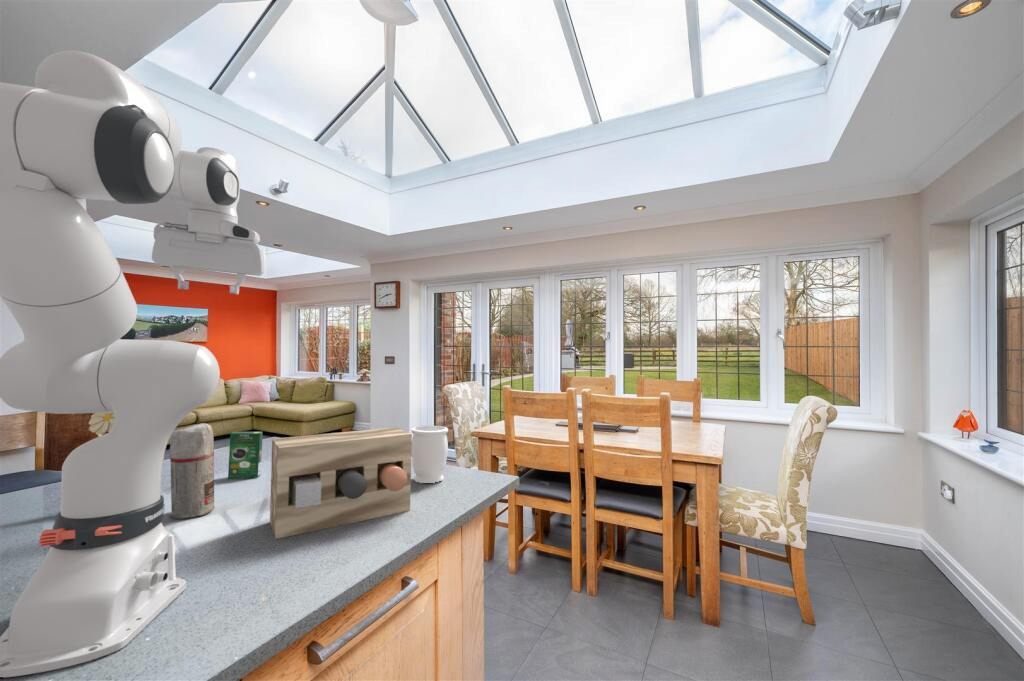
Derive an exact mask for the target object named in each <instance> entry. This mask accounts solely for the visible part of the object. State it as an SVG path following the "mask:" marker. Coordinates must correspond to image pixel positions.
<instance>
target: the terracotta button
mask: <svg viewBox="0 0 1024 681" xmlns="http://www.w3.org/2000/svg"><path fill="white" fill-rule="evenodd" d="M378 479H379V481H380V483H381V484H383V485H384V486H385V487H386V488H388V489H389V490H391V491H398V490H401V489H402V488H403V487H404V486H405V484H406V482H407V474H406V472H405V471H404V470H403V469H401V468H400V467H398V466H396V465H395V464H392V463H389V464H386V465H384V466H383V467H382V468H381V469H380V470H379V473H378Z"/></svg>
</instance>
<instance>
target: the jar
mask: <svg viewBox="0 0 1024 681" xmlns="http://www.w3.org/2000/svg"><path fill="white" fill-rule="evenodd" d="M448 432H449V427H446V426H442V425H419V426H416V427H412V428H411V434H412V445H411V465H412V469H413V471H414V474H415V476H414V477H413V480H414V481H415V482H416V483H418V482H419V484H422V483H433V484H436V483H435V482H438V483H440V482H439V481H441V482H442V481H443V480H444V478H445V477H444V475H443V474H444V473H443V472H444V470H445V469H446V464H447V458H448V453H449V452H448V451H449V445H448V444H449V443H448V436H447V433H448Z"/></svg>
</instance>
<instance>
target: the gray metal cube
mask: <svg viewBox="0 0 1024 681" xmlns="http://www.w3.org/2000/svg"><path fill="white" fill-rule="evenodd" d="M291 501H292V503H293V505H294V507H295V508H301V507H306V506H312V505H317V504H321V480H320V479H319V478H318V476H317V475H311V476H304V477H297V478H292V495H291Z"/></svg>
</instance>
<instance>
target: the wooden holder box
mask: <svg viewBox="0 0 1024 681" xmlns="http://www.w3.org/2000/svg"><path fill="white" fill-rule="evenodd" d="M412 438H413V433H412V432H411V433H410V432H408V431H406V430H403V429H401V428H399V427H396V426H395V427H386V428H385V427H384V428H383V427H382V428H375V429H374V428H373V429H363V430H351V431H342V432H331V433H320V434H319V433H318V434H310V435H309V434H307V435H301V436H299V435H297V436H289V437H278V438H277V437H276V438H272V439H271V463H270V464H271V468H270V469H271V470H270V474H271V475H270V502H269V503H270V506H269V510H270V511H269V523H271V524H270V526H271V529H272V531H273V535H274V537H275V539H276V540H277V539H282V538H286V537H291V536H296V535H300V534H306V533H311V532H314V531H319V530H324V529H328V528H333V527H337V526H338V527H339V526H343V525H347V524H352V523H357V522H360V521H361V522H362V521H366V520H370V519H376V518H380V517H385V516H389V515H395V514H399V513H404V512H409V511H411V484H412V483H411V482H412V457H411V445H412ZM389 463H392V464H395V465H396V466H398V467H400V468H401V469H403V470H404V471H405V472H406V474H407V482H406V484H405V486H404V487H403V488H402V489H401V490H398V491H391V490H389V489H388V488H386V487H385V486H384V485H383V484H381V483H380V481H379V479H378V473H379V470H380V469H381V468H382V467H383V466H384V465H386V464H389ZM347 469H354V470H356V471H357V472H359V473H360V474H361V475H362V476H363V477H364V478H365V479H366V481H367V488H366V491H365V492H364V494H363V495H362V496H360V497H358V498H356V499H350V498H347V497H346V496H345V495H344V494H343V493H342V492H341V491H340V490H339V488H338V487H337V479H338V476H339V475H340V474H341V473H342V472H343V471H345V470H347ZM311 475H317V476H318V478H319V479H320V480H321V504H317V505H312V506H306V507H301V508H295V507H294V505H293V503H292V501H291V495H292V478H297V477H304V476H311Z"/></svg>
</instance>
